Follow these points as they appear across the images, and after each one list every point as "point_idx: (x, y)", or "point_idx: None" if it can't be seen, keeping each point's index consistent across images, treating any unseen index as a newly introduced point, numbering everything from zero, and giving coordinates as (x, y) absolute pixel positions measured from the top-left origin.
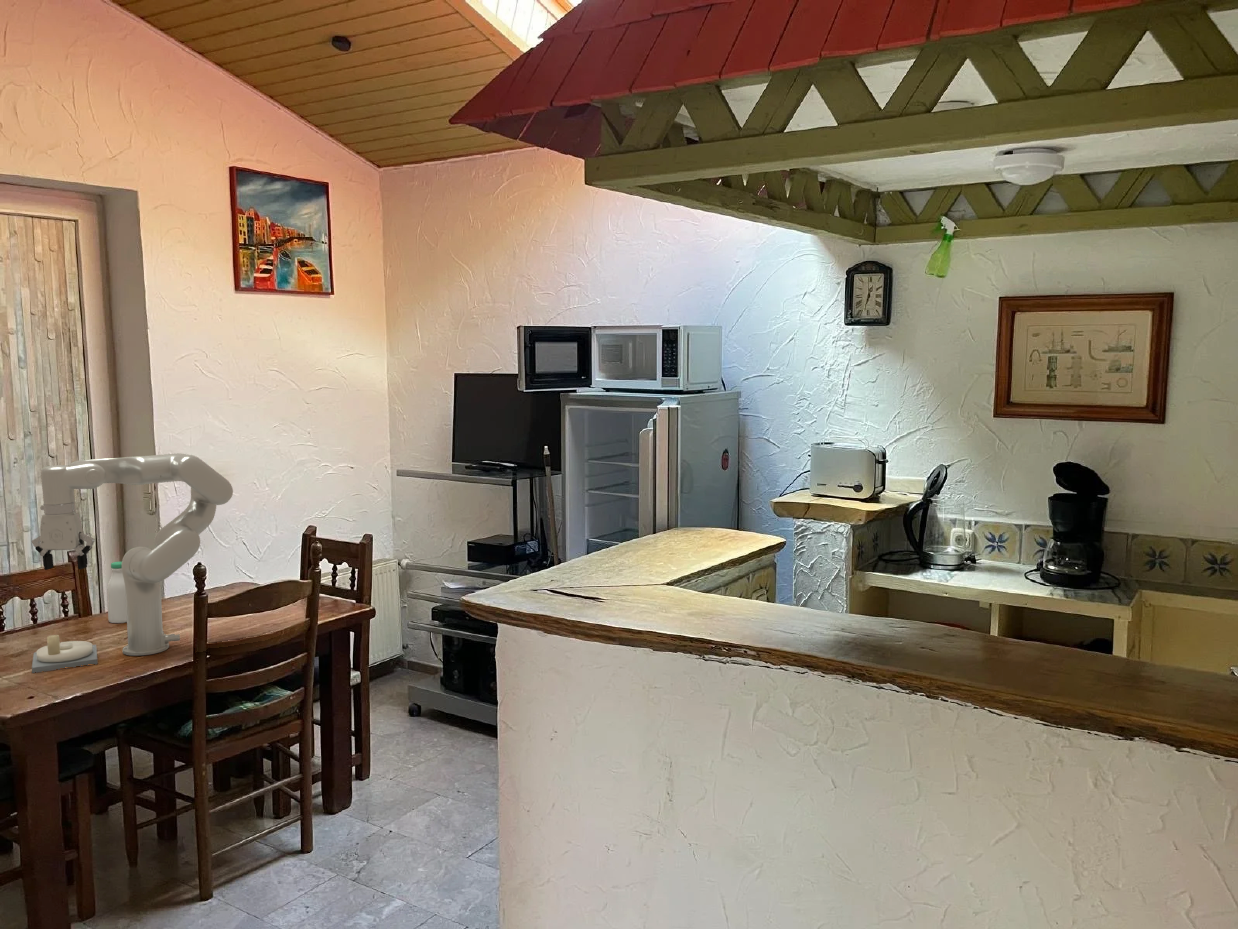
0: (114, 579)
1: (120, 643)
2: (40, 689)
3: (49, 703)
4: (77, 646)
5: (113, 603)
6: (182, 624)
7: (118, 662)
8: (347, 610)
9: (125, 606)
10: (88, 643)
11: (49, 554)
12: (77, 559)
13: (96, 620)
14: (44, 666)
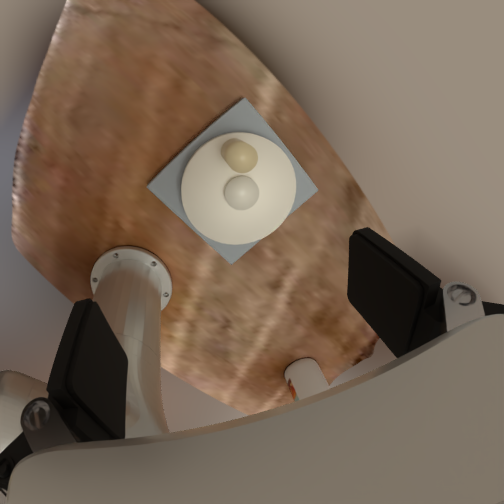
0: None
1: (213, 299)
2: (142, 24)
3: None
4: (221, 209)
5: (312, 382)
6: (196, 385)
7: (116, 207)
8: None
9: (295, 386)
10: (213, 234)
11: (414, 342)
12: (77, 360)
13: (335, 356)
14: (225, 113)
